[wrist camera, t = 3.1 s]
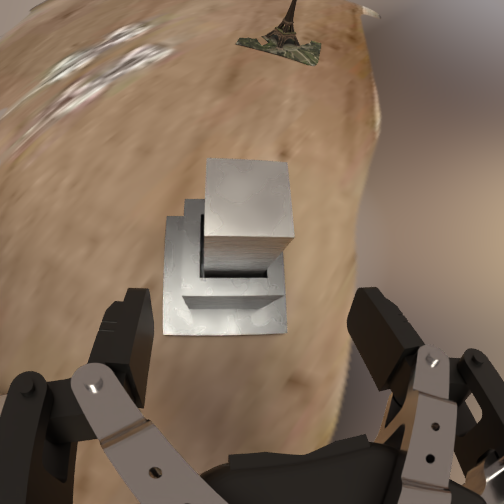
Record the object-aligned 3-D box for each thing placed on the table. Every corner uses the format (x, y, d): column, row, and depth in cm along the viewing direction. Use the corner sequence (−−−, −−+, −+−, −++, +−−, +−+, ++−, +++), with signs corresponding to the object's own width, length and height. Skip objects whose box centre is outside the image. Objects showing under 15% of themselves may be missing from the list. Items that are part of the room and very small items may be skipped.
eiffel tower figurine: (233, 46, 43) (243, -16, 30) (248, 24, 46) (259, -29, 33) (316, 70, 44) (341, 11, 31) (320, 45, 47) (342, -6, 34)
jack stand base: (165, 334, 28) (144, 332, 18) (168, 221, 31) (155, 170, 21) (283, 333, 30) (321, 328, 20) (277, 223, 33) (306, 175, 23)
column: (204, 292, 28) (204, 235, 13) (204, 252, 29) (206, 158, 14) (246, 292, 28) (294, 237, 13) (245, 252, 30) (287, 162, 14)
